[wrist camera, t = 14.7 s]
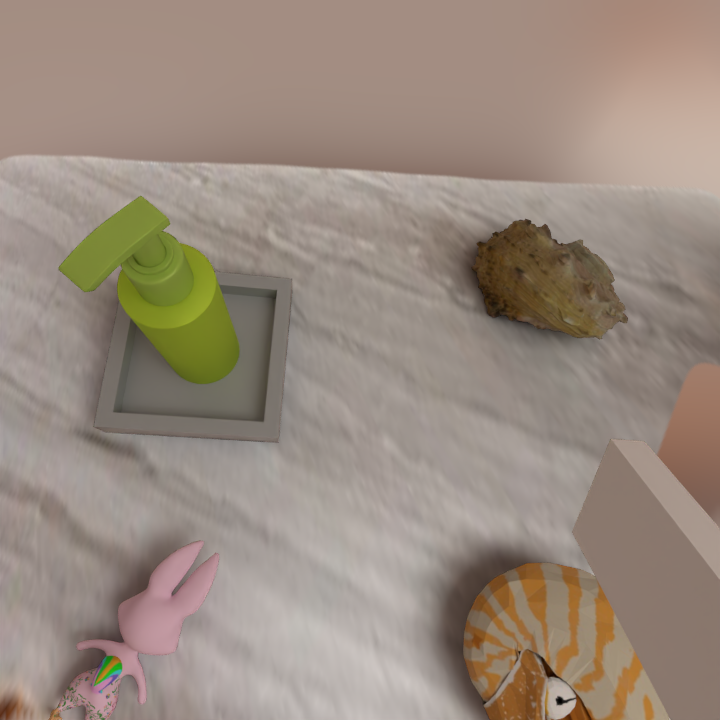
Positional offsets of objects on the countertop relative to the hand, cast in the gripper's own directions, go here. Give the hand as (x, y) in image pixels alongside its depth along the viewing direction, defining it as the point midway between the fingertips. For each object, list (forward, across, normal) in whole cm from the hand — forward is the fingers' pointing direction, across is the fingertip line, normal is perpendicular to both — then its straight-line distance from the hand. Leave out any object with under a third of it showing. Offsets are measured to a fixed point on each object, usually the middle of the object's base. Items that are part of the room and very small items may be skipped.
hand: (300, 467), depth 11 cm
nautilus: (+14, +20, -34) cm, 41 cm away
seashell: (+39, +21, -9) cm, 45 cm away
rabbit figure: (+16, -11, -30) cm, 36 cm away
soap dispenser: (+31, -10, -14) cm, 36 cm away
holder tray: (+32, -10, -15) cm, 36 cm away
